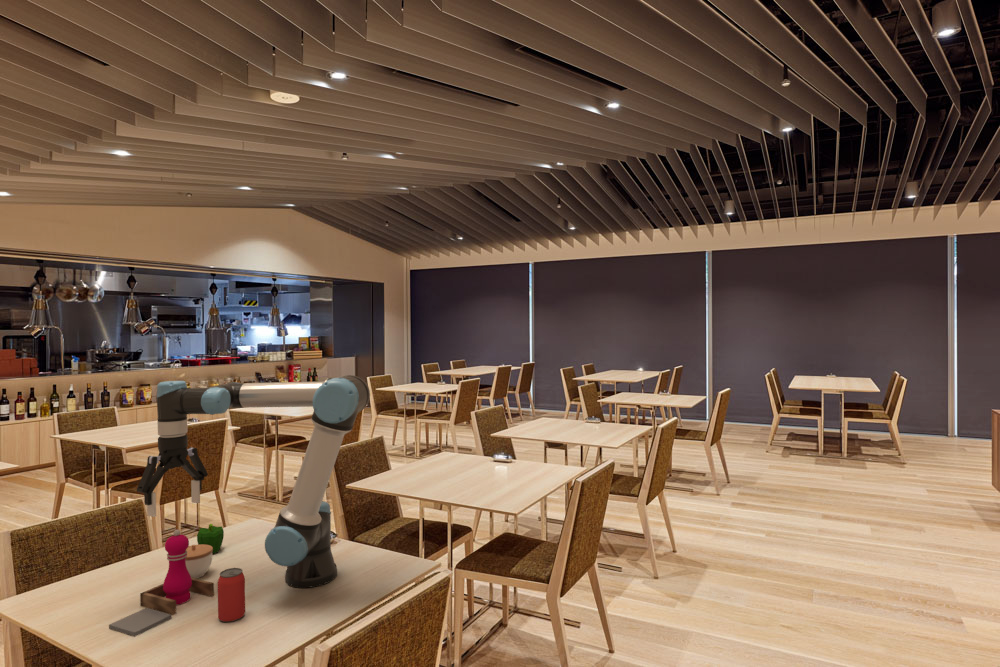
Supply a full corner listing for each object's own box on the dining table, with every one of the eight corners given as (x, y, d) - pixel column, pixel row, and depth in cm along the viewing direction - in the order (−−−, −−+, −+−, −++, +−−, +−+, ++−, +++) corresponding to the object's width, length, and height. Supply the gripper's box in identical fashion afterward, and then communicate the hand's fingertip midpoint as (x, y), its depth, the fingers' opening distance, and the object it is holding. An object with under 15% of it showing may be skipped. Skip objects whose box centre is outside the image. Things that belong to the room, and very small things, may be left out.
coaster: (171, 618, 158) (171, 614, 158) (134, 636, 149) (134, 632, 149) (146, 611, 163) (146, 607, 162) (109, 628, 153) (109, 624, 153)
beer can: (228, 625, 154) (227, 579, 154) (212, 619, 158) (212, 573, 158) (250, 614, 160) (250, 570, 160) (235, 608, 164) (234, 565, 163)
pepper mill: (198, 596, 171) (197, 526, 171) (177, 608, 164) (175, 535, 164) (178, 593, 174) (177, 524, 173) (157, 604, 167) (155, 532, 167)
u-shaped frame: (213, 595, 172) (213, 582, 172) (172, 615, 160) (172, 601, 160) (182, 587, 178) (182, 575, 178) (140, 606, 166) (140, 593, 166)
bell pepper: (200, 548, 209) (199, 520, 209) (225, 546, 211) (225, 518, 211) (194, 557, 201) (193, 527, 201) (220, 555, 203) (220, 525, 203)
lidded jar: (220, 568, 191) (219, 539, 191) (200, 583, 180) (199, 552, 180) (188, 567, 192) (187, 538, 192) (166, 582, 181) (166, 551, 181)
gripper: (202, 427, 185) (204, 496, 185) (120, 442, 162) (122, 520, 163) (219, 428, 181) (220, 498, 182) (138, 444, 159) (140, 523, 159)
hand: (174, 509), depth 172 cm, fingers open, 13 cm apart
